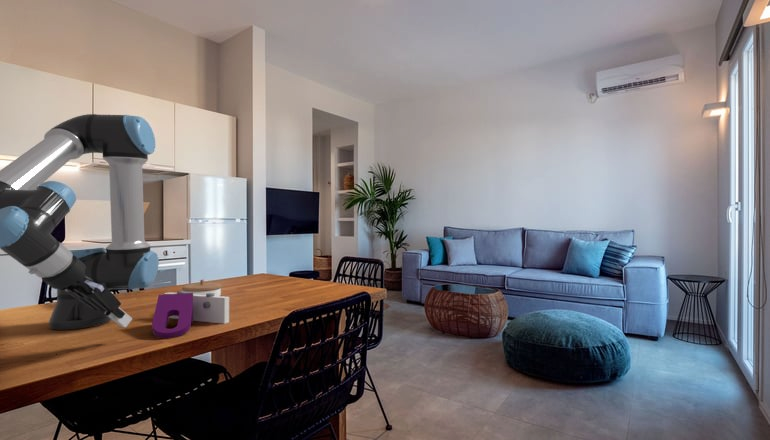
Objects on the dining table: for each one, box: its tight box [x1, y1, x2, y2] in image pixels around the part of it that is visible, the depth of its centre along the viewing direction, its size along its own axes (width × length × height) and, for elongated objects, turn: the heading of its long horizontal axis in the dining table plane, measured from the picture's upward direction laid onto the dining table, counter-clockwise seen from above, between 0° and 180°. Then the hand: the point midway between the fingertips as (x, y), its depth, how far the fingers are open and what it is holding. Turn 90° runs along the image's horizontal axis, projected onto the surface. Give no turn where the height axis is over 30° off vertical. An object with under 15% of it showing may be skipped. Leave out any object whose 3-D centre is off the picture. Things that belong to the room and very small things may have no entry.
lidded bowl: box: [181, 279, 222, 296], centre depth 136 cm, size 13×13×11 cm
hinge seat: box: [162, 290, 230, 325], centre depth 123 cm, size 25×3×9 cm, turn 71°
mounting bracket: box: [151, 293, 194, 339], centre depth 112 cm, size 9×8×18 cm
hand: (127, 322), depth 101 cm, fingers closed
